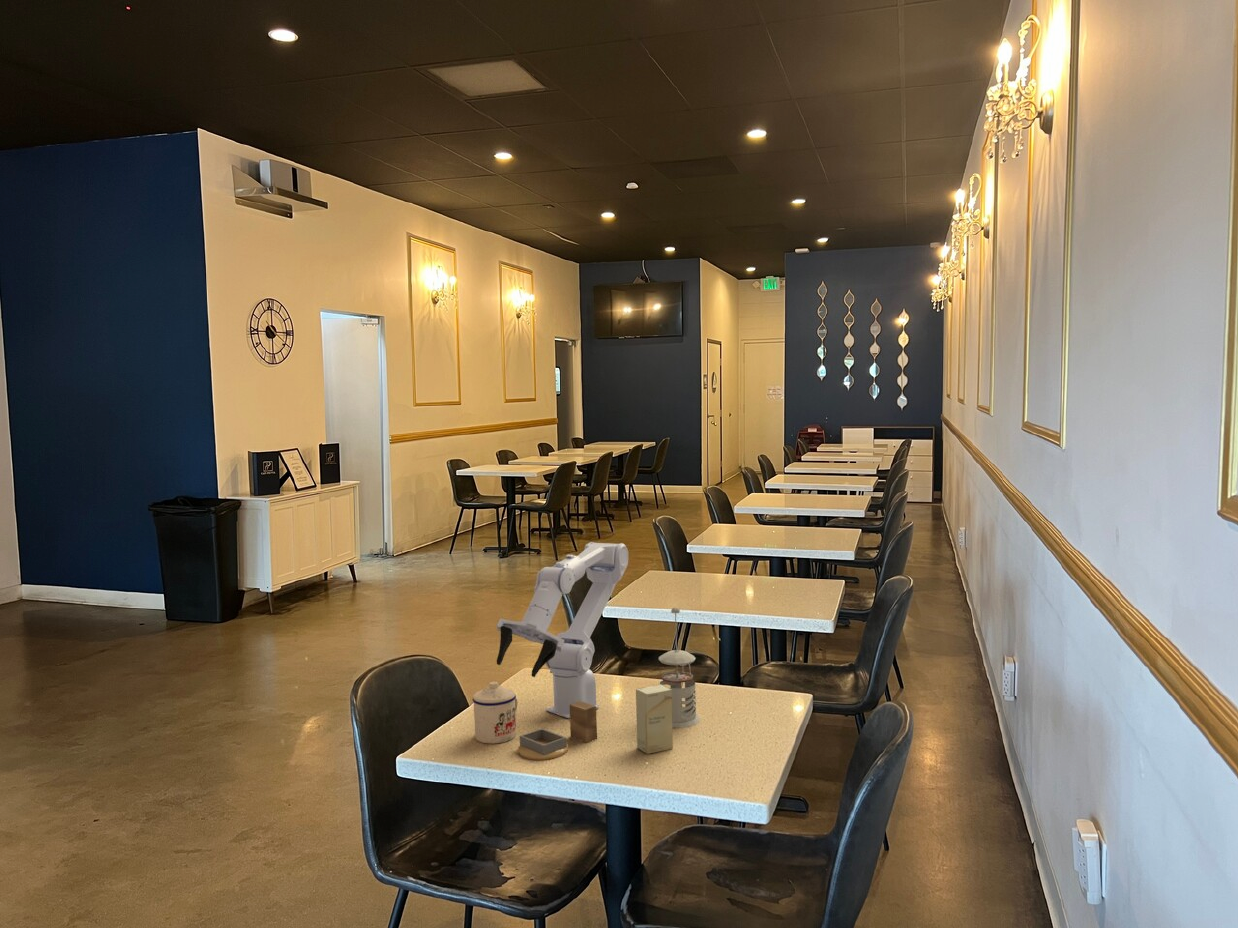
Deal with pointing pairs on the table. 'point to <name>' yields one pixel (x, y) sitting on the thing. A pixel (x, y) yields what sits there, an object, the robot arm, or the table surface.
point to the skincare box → (654, 718)
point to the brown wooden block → (583, 721)
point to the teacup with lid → (495, 714)
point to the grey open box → (542, 745)
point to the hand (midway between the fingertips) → (515, 668)
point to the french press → (674, 679)
